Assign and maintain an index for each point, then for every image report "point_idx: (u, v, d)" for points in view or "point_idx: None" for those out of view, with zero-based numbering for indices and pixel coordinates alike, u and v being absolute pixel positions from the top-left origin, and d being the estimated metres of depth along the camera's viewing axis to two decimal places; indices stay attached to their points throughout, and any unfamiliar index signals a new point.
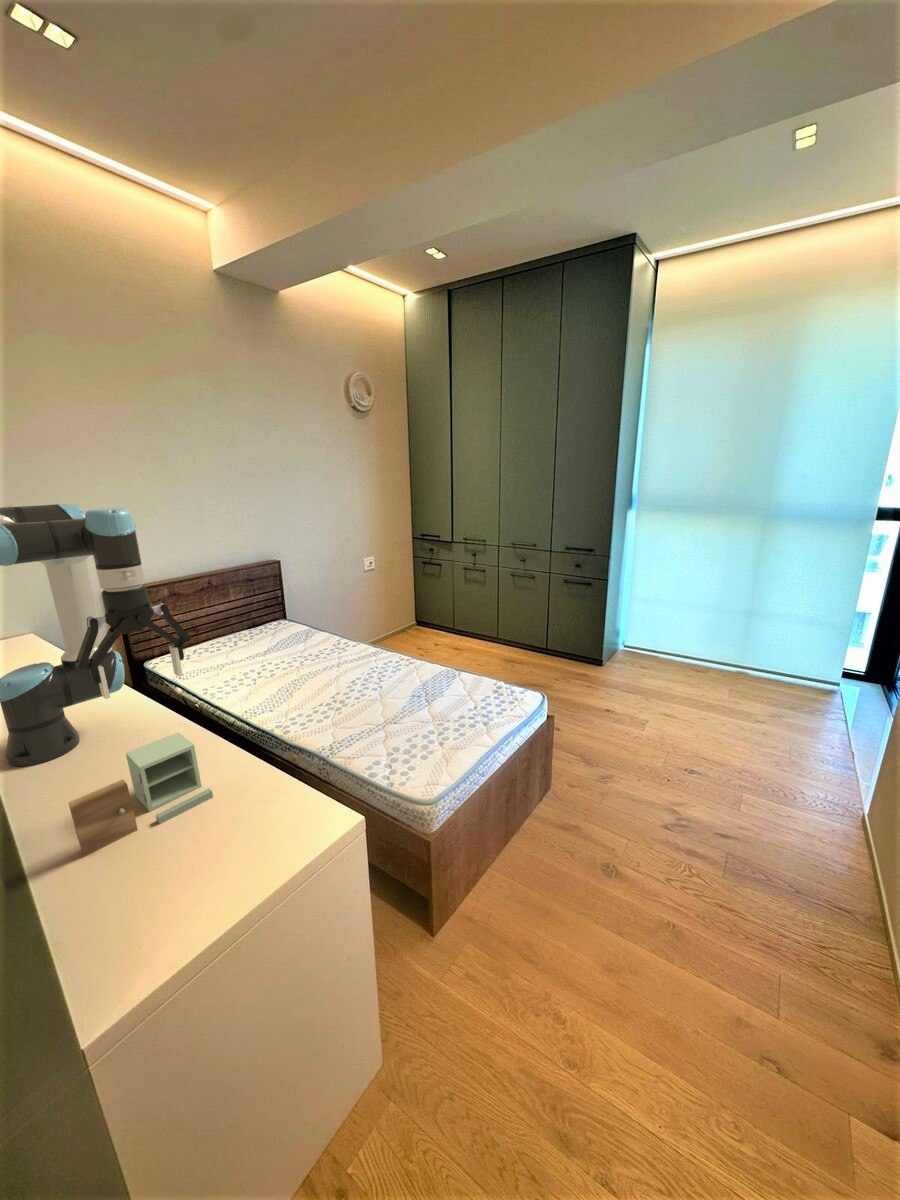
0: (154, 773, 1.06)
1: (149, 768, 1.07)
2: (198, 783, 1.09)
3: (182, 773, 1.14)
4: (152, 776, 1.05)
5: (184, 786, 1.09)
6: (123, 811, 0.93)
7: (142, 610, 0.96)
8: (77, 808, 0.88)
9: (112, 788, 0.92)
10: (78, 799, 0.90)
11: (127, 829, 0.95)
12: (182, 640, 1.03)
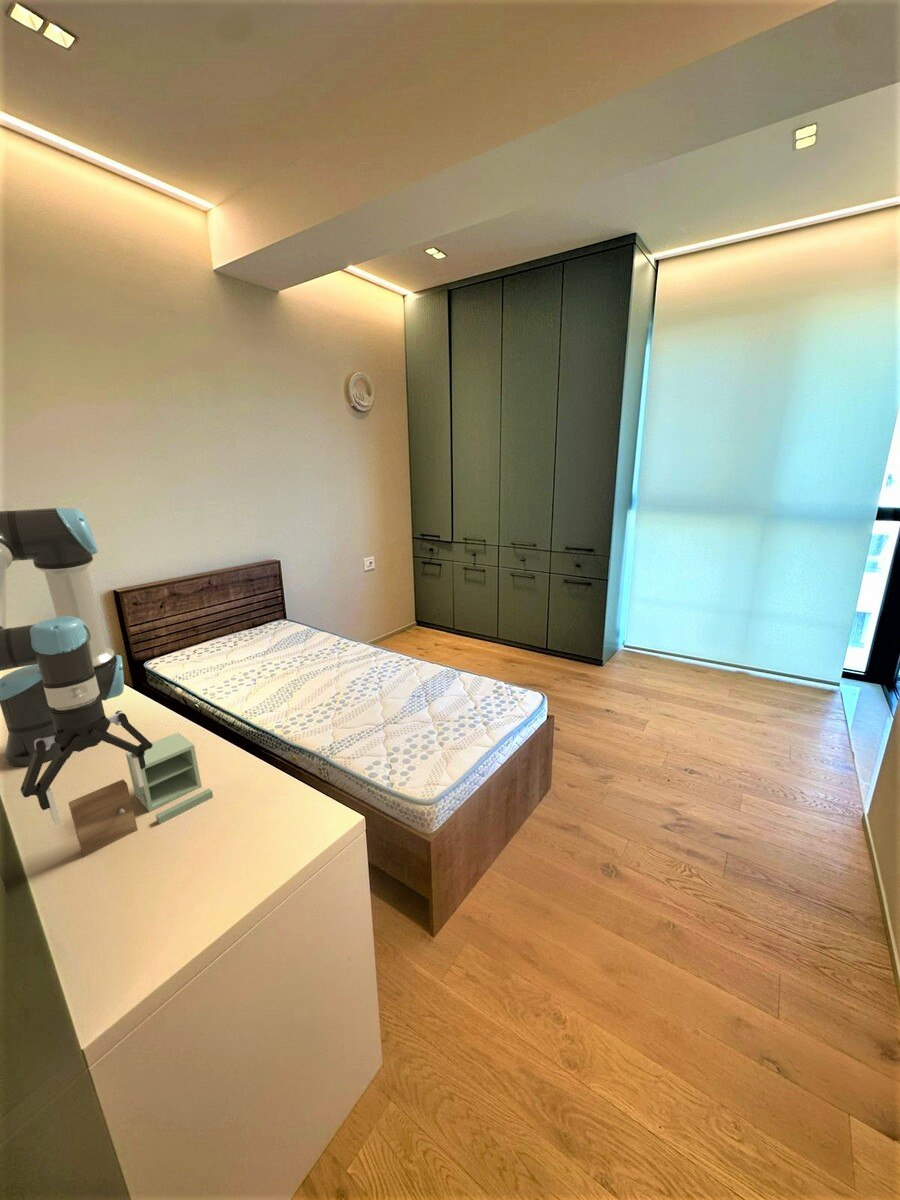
0: (154, 773, 1.06)
1: (149, 768, 1.07)
2: (198, 783, 1.09)
3: (182, 773, 1.14)
4: (152, 776, 1.05)
5: (184, 786, 1.09)
6: (123, 811, 0.93)
7: (96, 724, 0.88)
8: (77, 808, 0.88)
9: (112, 788, 0.92)
10: (78, 799, 0.89)
11: (127, 829, 0.95)
12: (143, 748, 0.95)
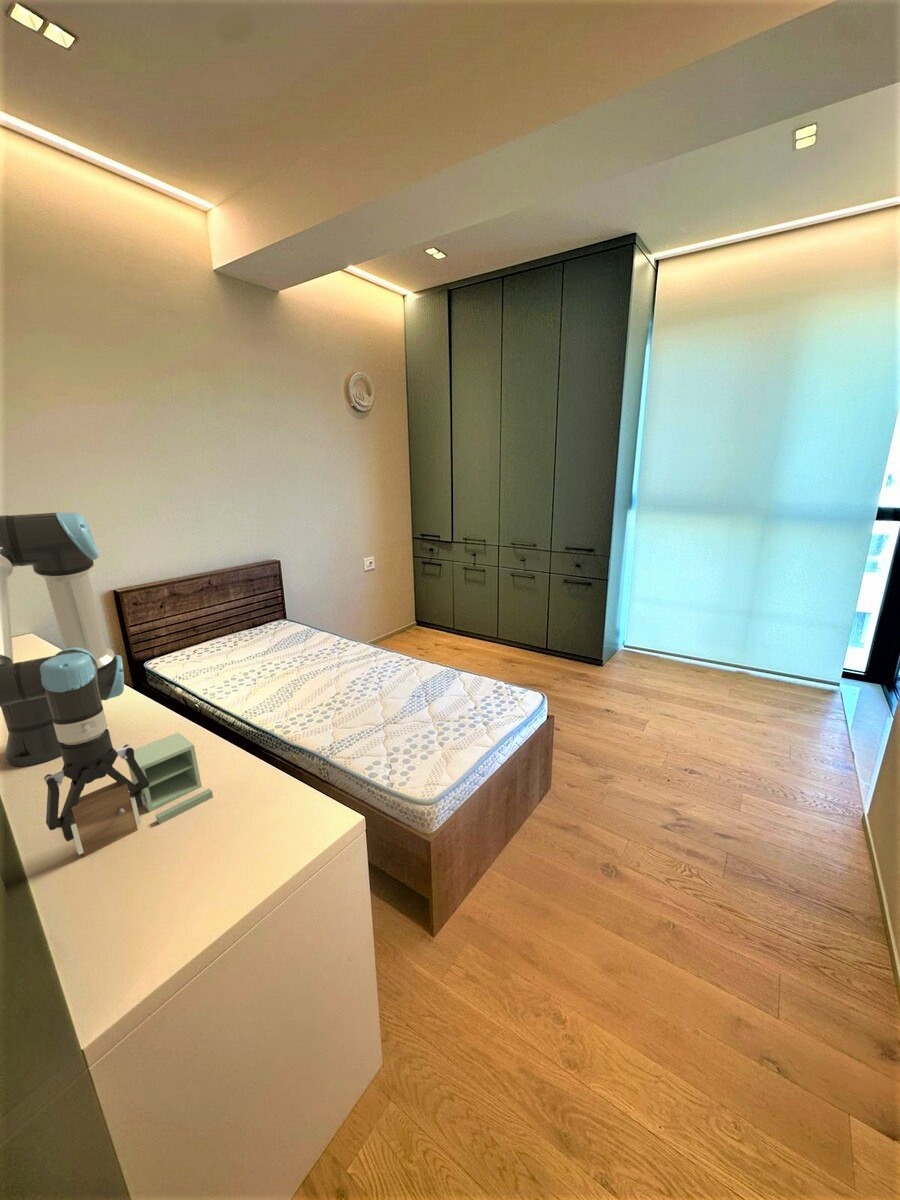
0: (154, 773, 1.06)
1: (149, 768, 1.07)
2: (198, 783, 1.09)
3: (182, 773, 1.14)
4: (152, 776, 1.05)
5: (184, 786, 1.09)
6: (123, 811, 0.93)
7: (104, 756, 0.90)
8: (77, 808, 0.88)
9: (112, 788, 0.92)
10: None
11: (127, 829, 0.95)
12: (141, 788, 0.96)
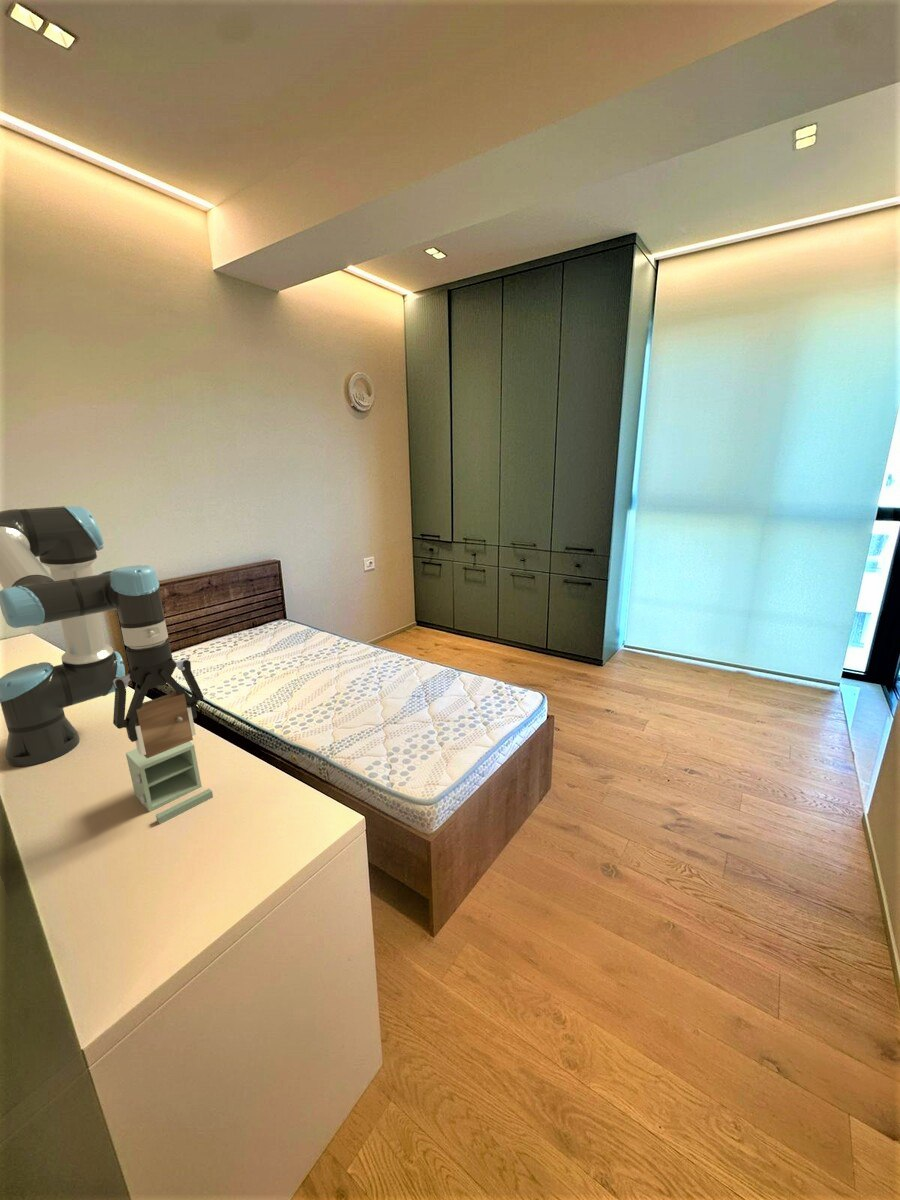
0: (154, 773, 1.06)
1: (149, 768, 1.07)
2: (198, 783, 1.09)
3: (182, 773, 1.14)
4: (152, 776, 1.05)
5: (184, 786, 1.09)
6: (181, 719, 0.99)
7: (165, 664, 0.96)
8: (141, 711, 0.94)
9: (171, 697, 0.99)
10: None
11: (184, 737, 1.01)
12: (196, 700, 1.03)
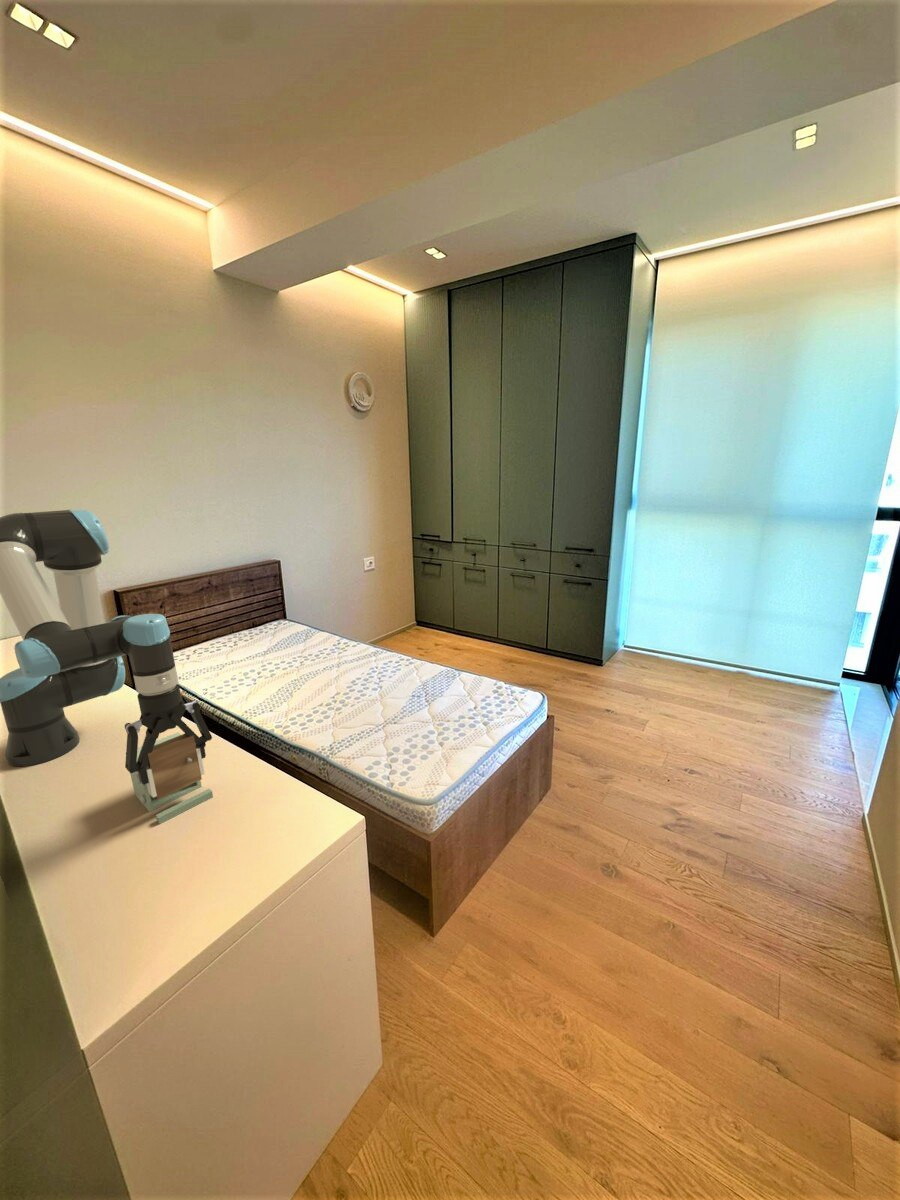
0: None
1: None
2: (198, 783, 1.09)
3: None
4: None
5: None
6: (190, 760, 1.02)
7: (175, 708, 0.99)
8: (152, 754, 0.97)
9: (181, 739, 1.01)
10: None
11: (193, 777, 1.04)
12: (204, 740, 1.05)
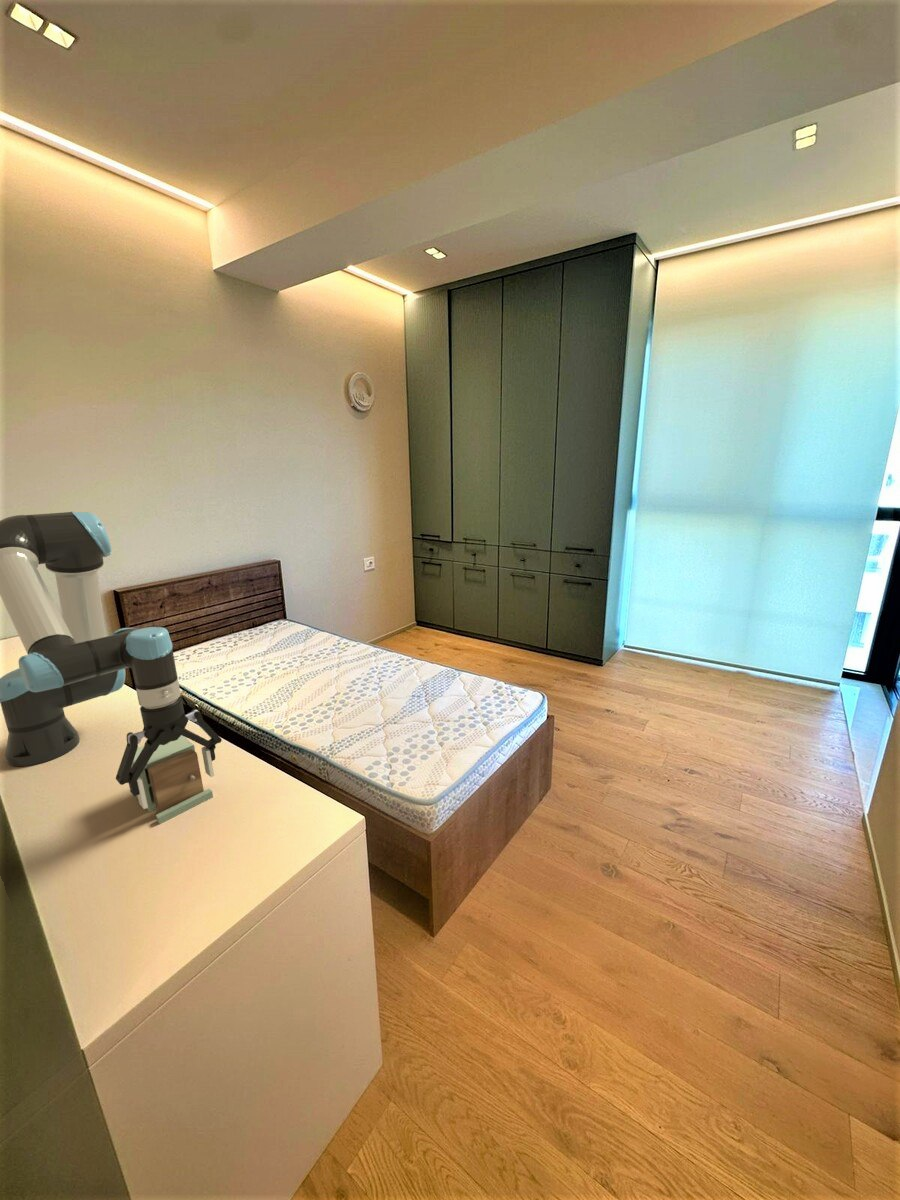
0: None
1: None
2: None
3: None
4: None
5: None
6: (194, 777, 1.03)
7: (177, 720, 1.00)
8: (156, 773, 0.98)
9: (184, 757, 1.02)
10: (156, 765, 1.00)
11: (196, 794, 1.05)
12: (214, 742, 1.07)
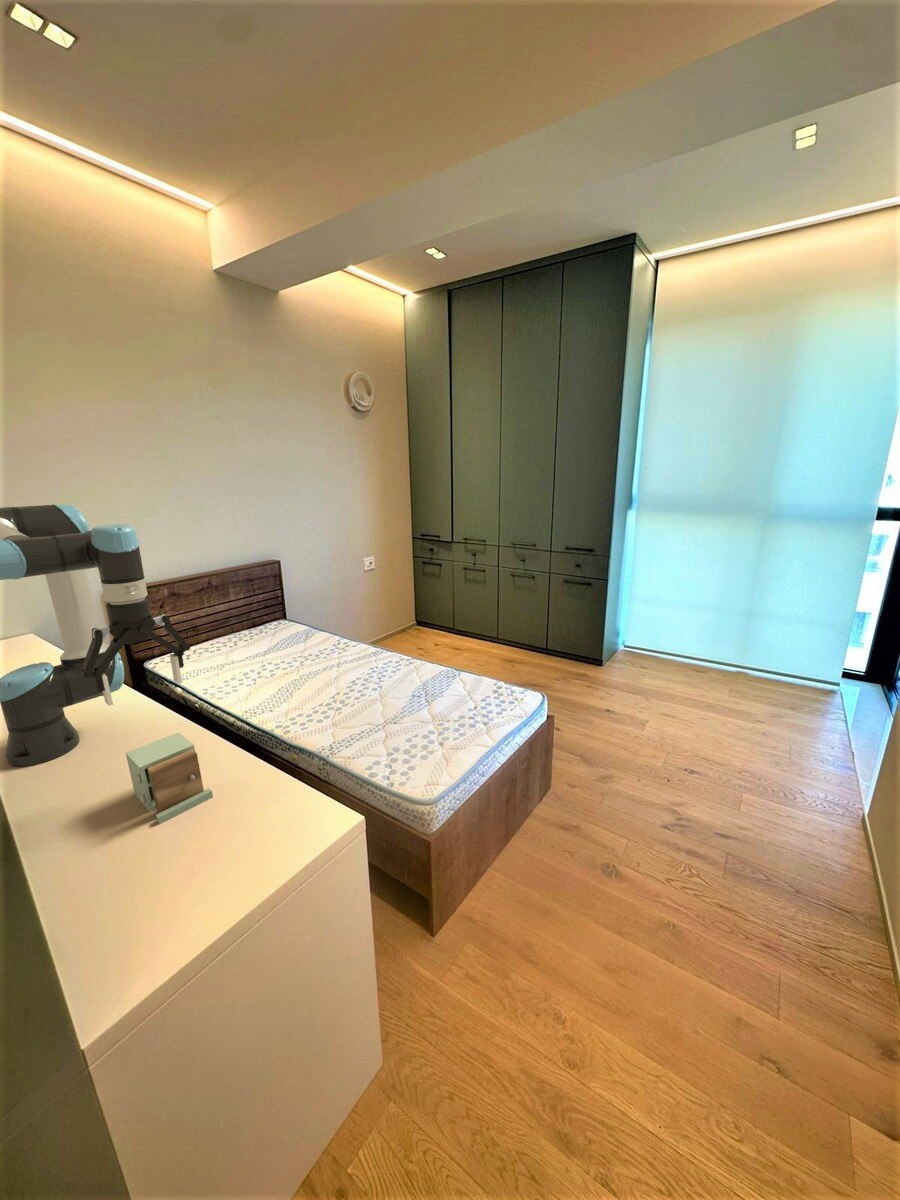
0: None
1: None
2: None
3: None
4: None
5: None
6: (194, 777, 1.03)
7: (144, 621, 1.00)
8: (156, 773, 0.98)
9: (184, 757, 1.02)
10: (156, 765, 1.00)
11: (196, 794, 1.05)
12: (182, 649, 1.08)
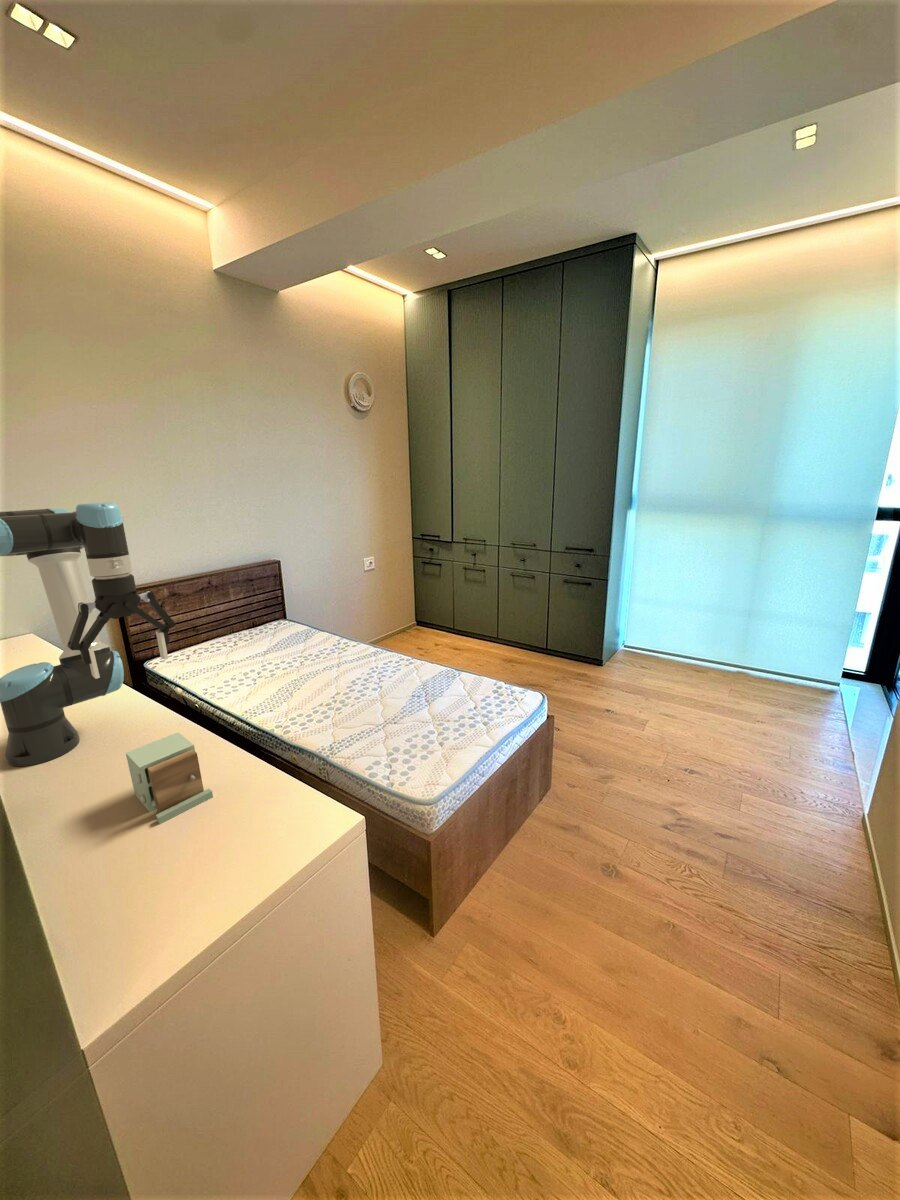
0: None
1: None
2: None
3: None
4: None
5: None
6: (194, 777, 1.03)
7: (130, 597, 1.04)
8: (156, 773, 0.98)
9: (184, 757, 1.02)
10: (156, 765, 1.00)
11: (196, 794, 1.05)
12: (168, 626, 1.11)
